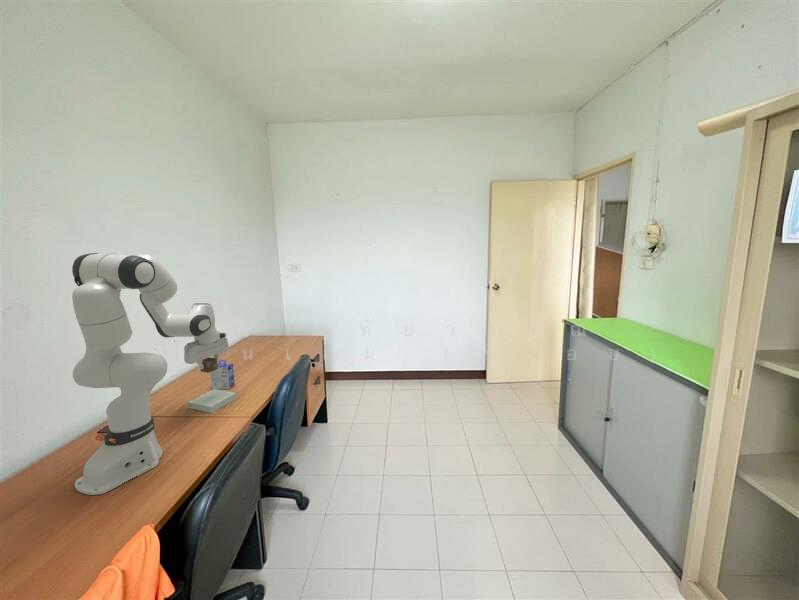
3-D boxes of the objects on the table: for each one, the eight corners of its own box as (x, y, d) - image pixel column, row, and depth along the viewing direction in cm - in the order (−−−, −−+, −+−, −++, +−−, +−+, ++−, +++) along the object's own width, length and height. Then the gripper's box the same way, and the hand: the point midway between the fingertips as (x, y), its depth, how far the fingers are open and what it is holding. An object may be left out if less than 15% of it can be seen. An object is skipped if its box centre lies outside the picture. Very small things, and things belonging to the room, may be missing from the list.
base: (211, 413, 140) (210, 407, 140) (188, 408, 145) (187, 402, 144) (236, 398, 154) (236, 393, 153) (214, 394, 158) (214, 388, 157)
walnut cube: (208, 372, 143) (207, 362, 142) (200, 371, 145) (199, 361, 144) (218, 368, 148) (217, 358, 147) (210, 367, 149) (209, 357, 149)
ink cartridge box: (235, 384, 169) (233, 359, 166) (230, 389, 164) (227, 363, 161) (217, 384, 169) (214, 359, 167) (211, 389, 164) (208, 363, 161)
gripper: (189, 345, 133) (193, 375, 135) (229, 332, 152) (232, 359, 154) (178, 343, 135) (182, 373, 137) (219, 331, 154) (222, 358, 156)
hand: (209, 366), depth 146 cm, fingers closed on walnut cube, 5 cm apart
